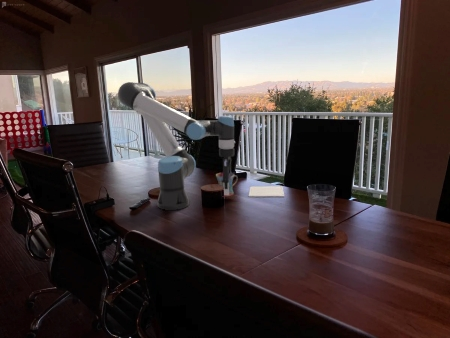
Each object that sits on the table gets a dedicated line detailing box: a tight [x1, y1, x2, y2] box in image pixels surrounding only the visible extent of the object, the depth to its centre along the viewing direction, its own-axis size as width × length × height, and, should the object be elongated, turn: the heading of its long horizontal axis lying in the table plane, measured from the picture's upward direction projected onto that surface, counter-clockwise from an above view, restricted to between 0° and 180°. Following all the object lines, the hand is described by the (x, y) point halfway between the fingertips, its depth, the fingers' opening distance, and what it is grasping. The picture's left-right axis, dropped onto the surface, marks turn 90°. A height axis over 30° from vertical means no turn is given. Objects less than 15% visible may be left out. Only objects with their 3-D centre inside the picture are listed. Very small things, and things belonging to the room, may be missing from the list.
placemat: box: [248, 185, 285, 198], centre depth 173 cm, size 18×18×1 cm
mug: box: [215, 172, 239, 197], centre depth 162 cm, size 12×9×11 cm
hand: (227, 192), depth 162 cm, fingers closed on mug, 8 cm apart
